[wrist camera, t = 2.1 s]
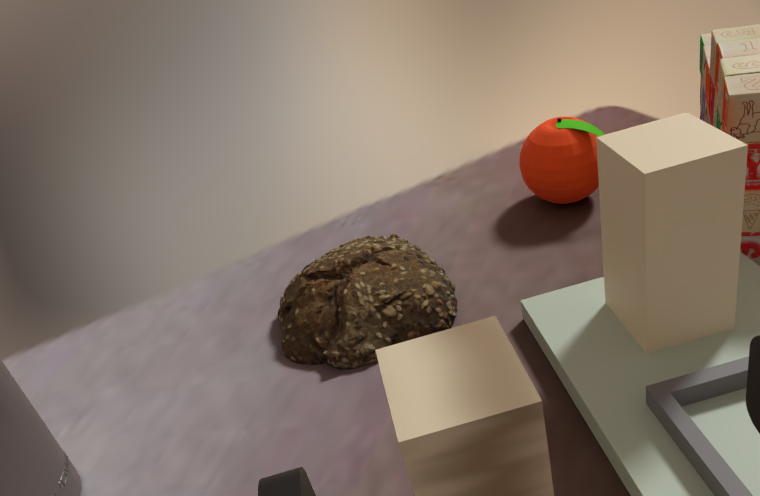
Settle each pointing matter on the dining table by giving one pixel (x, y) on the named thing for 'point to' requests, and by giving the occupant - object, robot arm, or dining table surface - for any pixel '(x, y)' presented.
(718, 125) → the stack of blocks
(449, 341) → the maple pillar
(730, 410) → the baseplate
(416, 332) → the bread roll
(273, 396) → the dining table surface
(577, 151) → the clementine
